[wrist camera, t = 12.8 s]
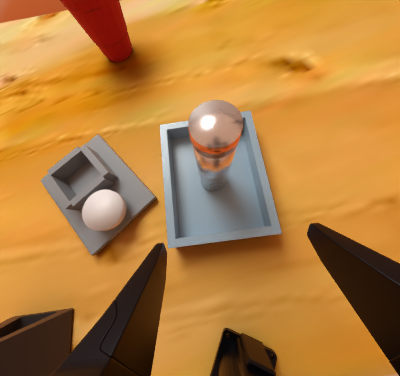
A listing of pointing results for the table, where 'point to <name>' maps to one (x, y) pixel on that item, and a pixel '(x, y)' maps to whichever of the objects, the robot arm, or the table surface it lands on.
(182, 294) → the table surface
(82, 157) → the plate
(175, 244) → the tray
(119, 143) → the table surface
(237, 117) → the salt shaker
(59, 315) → the phone stand
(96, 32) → the plastic cup
